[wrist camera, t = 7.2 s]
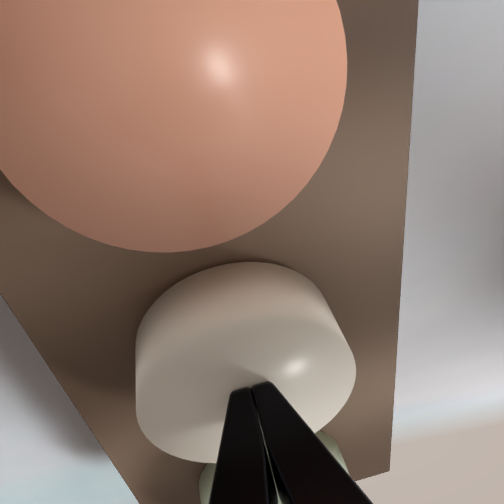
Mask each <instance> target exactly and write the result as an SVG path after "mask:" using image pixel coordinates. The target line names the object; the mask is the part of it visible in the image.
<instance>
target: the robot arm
mask: <svg viewBox="0 0 504 504" xmlns="http://www.w3.org/2000/svg"><path fill="white" fill-rule="evenodd" d="M252 393H253V394H252ZM253 397H254V398H253ZM254 401H255V402H254ZM255 405H256V406H255ZM256 409H257V410H256ZM257 413H258V414H257ZM258 417H259V418H258ZM259 421H260V422H259ZM260 425H261V426H260ZM261 429H262V430H261ZM262 433H263V434H262ZM263 437H264V438H263ZM264 441H265V442H264ZM265 445H266V446H265ZM266 449H267V450H266ZM267 453H268V454H267ZM268 457H269V458H268ZM269 461H270V462H269ZM270 465H271V466H270ZM271 469H272V470H271ZM272 473H273V474H272ZM273 477H274V478H273ZM274 480H275V482H274ZM275 484H276V486H275ZM276 488H277V490H276ZM277 491H278V495H279V498H280V501H281V503H282V504H373V503H372V502H371V500H370V499H369V498H368V497H367V496H366V494H365V493H364V492H363V491H362V490H361V488H360V487H359V486H358V485H357V484H356V482H355V481H354V480H353V479H352V478H351V476H350V475H349V474H348V473H347V472H346V470H345V469H344V468H343V467H342V466H341V464H340V463H339V462H338V461H337V460H336V458H335V457H334V456H333V455H332V454H331V452H330V451H329V450H328V449H327V447H326V446H325V445H324V444H323V443H322V441H321V440H320V439H319V438H318V437H317V435H316V434H315V433H314V432H313V431H312V429H311V428H310V427H309V426H308V425H307V423H306V422H305V421H304V420H303V419H302V417H301V416H300V415H299V414H298V413H297V411H296V410H295V409H294V408H293V407H292V405H291V404H290V403H289V402H288V401H287V399H286V398H285V397H284V396H283V394H282V393H281V392H280V391H279V390H278V388H277V387H276V386H275V385H274V384H273V383H272V382H270V381H267V382H263V383H259V384H256V385H253V386H252V390H251V388H250V387H245V388H241V389H237V390H234V391H232V392H231V393H230V396H229V400H228V405H227V411H226V416H225V421H224V426H223V431H222V436H221V441H220V447H219V452H218V457H217V462H216V467H215V472H214V477H213V483H212V488H211V493H210V498H209V503H208V504H279V501H278V495H277Z"/></svg>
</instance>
